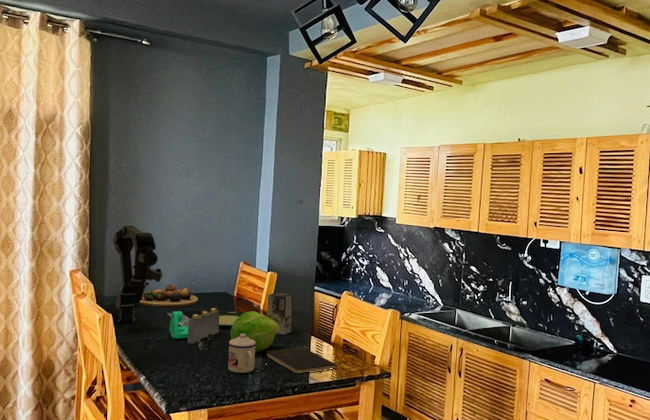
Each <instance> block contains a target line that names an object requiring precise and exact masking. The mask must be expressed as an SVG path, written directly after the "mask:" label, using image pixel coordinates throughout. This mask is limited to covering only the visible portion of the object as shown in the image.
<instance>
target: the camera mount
mask: <svg viewBox="0 0 650 420" xmlns="http://www.w3.org/2000/svg"><path fill="white" fill-rule="evenodd" d="M182 322H183V312H182V311H180V310H178V311H177V310H176V311H172V313H171V317H170V323H169V326H168V327H169V328H168V332H169V333H170V336H171V337H172V339H184V338H185V339H188V326H180V325H179V323H182Z"/></svg>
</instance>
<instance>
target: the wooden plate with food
mask: <svg viewBox="0 0 650 420" xmlns="http://www.w3.org/2000/svg"><path fill="white" fill-rule="evenodd" d="M198 302H199V298H198V297H197V296H195V295H193V294H192V292H191V291H190V289H189V288H187V287H184V288H182V289H177V287H176V285H175V284H174V283H172V284H168V285H166V287H165V290H164V289H161V288H158V289H155V290H153V289H150V290H147V291H144V294H143V297H142V300H141V301H140V302H139V305H140V306H144V307H151V308H152V307H153V308H162V307H163V308H167V309H168V308H184V307H189V306H194V305H196V304H198Z"/></svg>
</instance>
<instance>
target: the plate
mask: <svg viewBox="0 0 650 420" xmlns="http://www.w3.org/2000/svg"><path fill="white" fill-rule="evenodd" d="M219 311H220V310H219ZM243 313H245V312H242V311H231V310H230V311H226V310H225V311H223V310H222V311H220V315H219V327H224V328H225V327H231V328H232V325H233V323H234V322H235V321H236V320H237V318H238V317H239V316H241V315H242V314H243ZM201 315H202V313H201V314H199V316H201Z"/></svg>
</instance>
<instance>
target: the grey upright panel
mask: <svg viewBox="0 0 650 420" xmlns="http://www.w3.org/2000/svg"><path fill="white" fill-rule="evenodd" d="M201 314H202V315H201ZM201 314H198V313H194V314H192V317H191V318H190V319H188V324H187V325H188V326H187V327H188V338H187V344H196V343H198V342H200V341H199V340H200V339H202V338H203V337H204V336H205V335H208V334H211V335H212V336H215V335H216V334H219V332H220V326H219V315H220V310H218V309H217V308H216V307H211V308H210V311H207V310H202V311H201ZM199 315H201V316H199Z"/></svg>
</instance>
